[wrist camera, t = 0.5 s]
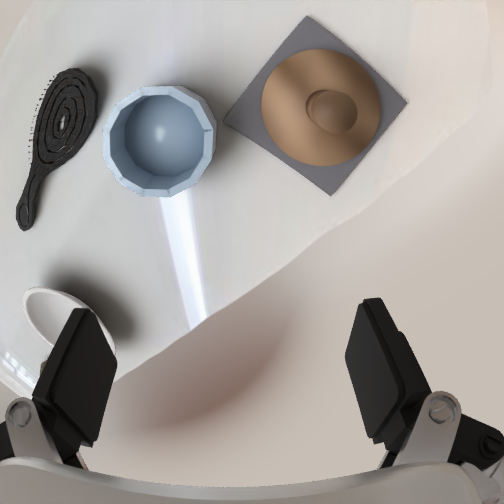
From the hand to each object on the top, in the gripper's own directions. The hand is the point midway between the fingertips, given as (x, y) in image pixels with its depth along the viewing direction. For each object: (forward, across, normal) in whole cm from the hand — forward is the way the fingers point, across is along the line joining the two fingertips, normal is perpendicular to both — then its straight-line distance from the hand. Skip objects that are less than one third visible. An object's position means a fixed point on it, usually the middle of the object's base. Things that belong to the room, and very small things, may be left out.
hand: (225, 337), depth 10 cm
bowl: (+26, +7, -3) cm, 27 cm away
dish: (+26, +27, +22) cm, 44 cm away
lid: (+26, -10, -5) cm, 28 cm away
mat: (+26, -10, -5) cm, 28 cm away
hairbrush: (+27, +24, -2) cm, 36 cm away
